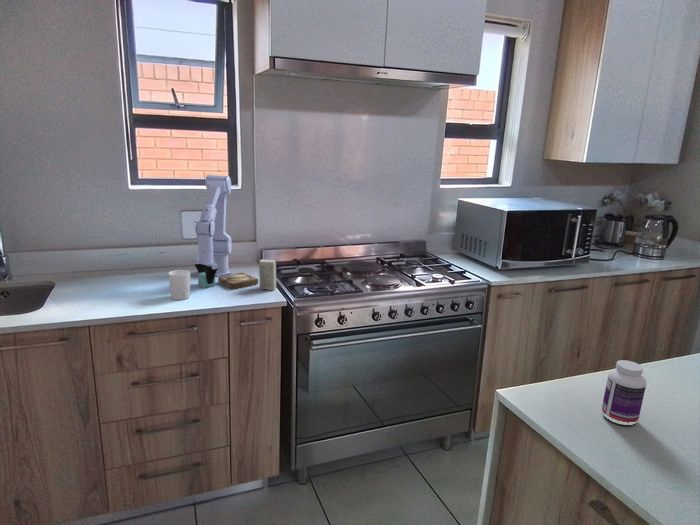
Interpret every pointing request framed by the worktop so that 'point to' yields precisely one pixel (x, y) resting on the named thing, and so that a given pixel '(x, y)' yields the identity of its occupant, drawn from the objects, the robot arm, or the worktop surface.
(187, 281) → the white cup
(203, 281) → the teal block
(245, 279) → the walnut plinth
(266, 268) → the skincare box
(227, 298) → the worktop surface
